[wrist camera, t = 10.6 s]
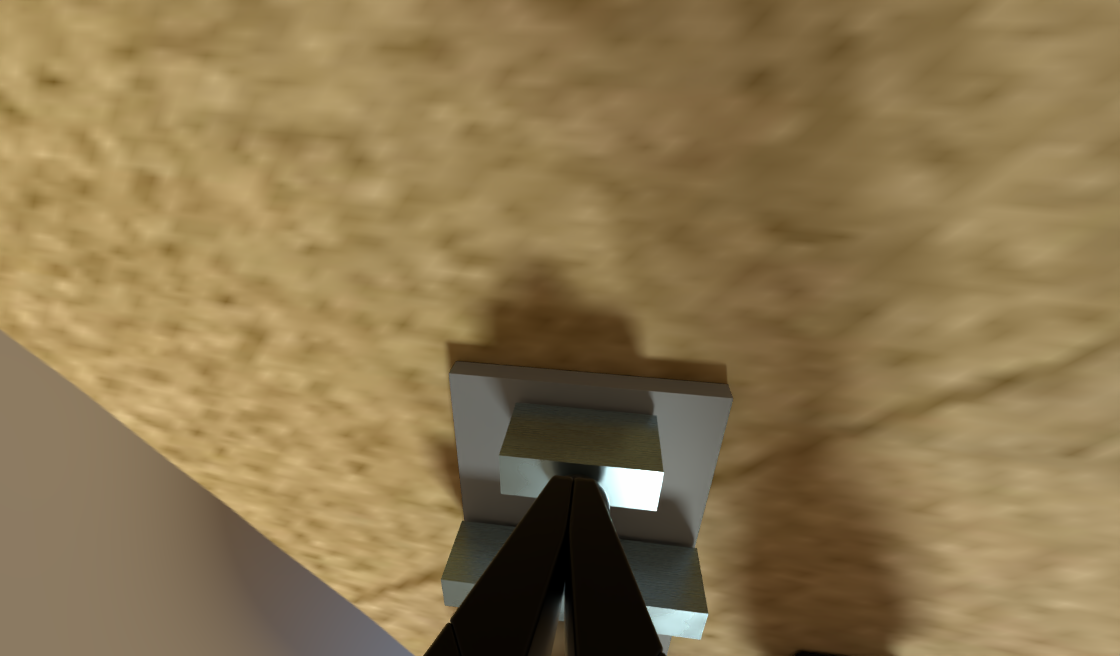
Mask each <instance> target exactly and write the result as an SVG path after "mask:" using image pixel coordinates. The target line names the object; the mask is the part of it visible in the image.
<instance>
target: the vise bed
mask: <svg viewBox="0 0 1120 656" xmlns="http://www.w3.org/2000/svg"><path fill="white" fill-rule="evenodd" d="M449 380H450V390H451V399H452V409H453V418H454V428H455V437H456V447H457V456H458V465H459V475H460V484H461V494H462V503H463V513H464V521H468V522H477V523H485V524H494V525H503V526H511V527H516V526H517V525H518V523H519V522H520V521H521V519H522V518H523V516H524V515H525V514H526V512H527V511H528V509H529V508H530V507H531V505H532V504H533V502H534V501H535V500H536V498H534V497H525V496H516V495H507V494H501V489H500V468H499V453H500V450H501V447H502V444H503V441H504V438H505V435H506V432H507V429H508V426H509V423H510V420H511V417H512V413H513V410H514V407H515V404H516V403H527V404H538V405H549V406H560V407H570V408H581V409H592V410H603V411H613V412H624V413H635V414H646V415H657V422H658V430H659V438H660V446H661V455H662V463H663V471H664V473H663V479H662V484H661V489H660V495H659V500H658V506H657V511H652V510H643V509H634V508H625V507H615V506H610V510H611V514H610V518H611V520H612V523H613V525H614V528H615V530H616V533H617V535H618V538H619V539H622V540H631V541H640V542H648V543H657V544H665V545H674V546H682V547H691V548H695V544H696V540H697V537H698V533H699V529H700V525H701V521H702V517H703V513H704V510H705V506H706V502H707V498H708V494H709V490H710V486H711V483H712V479H713V475H714V471H715V467H716V463H717V459H718V455H719V452H720V448H721V444H722V440H723V436H724V432H725V428H726V425H727V421H728V417H729V413H730V409H731V405H732V401H733V396H732V394H731V391H730V388H729V386H728V384H717V383H706V382H694V381H682V380H671V379H659V378H647V377H636V376H624V375H612V374H600V373H589V372H577V371H565V370H554V369H542V368H530V367H519V366H507V365H495V364H484V363H472V362H460V361H456V362H455V364H454V365H453V367H452V369H451V370H450V372H449ZM658 637H659V639H660V642H661V644H662V647H663V652H662V653H665V654H666V656H667V652H668V649H669V645H670V641H671V637H672V636H670V635H662V634H658Z"/></svg>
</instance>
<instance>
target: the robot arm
mask: <svg viewBox="0 0 1120 656" xmlns="http://www.w3.org/2000/svg"><path fill="white" fill-rule="evenodd" d="M564 586H565V592H564ZM563 594H564V636H565V656H666V654H665V653H662V652H663V647H662V644H661V642H660V639H659V637H658V634H657V632H656V629H655V627H654V624H653V622H652V619H651V617H650V614H649V612H648V610H647V607H646V605H645V602H644V600H643V597H642V595H641V592H640V590H639V587H638V585H637V582H636V580H635V577H634V575H633V572H632V570H631V567H630V565H629V562H628V560H627V557H626V555H625V552H624V550H623V548H622V545H621V543H620V540H619V538H618V535H617V533H616V530H615V528H614V525H613V523H612V520H611V518H610V515H609V513H608V510H607V508H606V505H605V503H604V500H603V498H602V495H601V493H600V490H599V488H598V486H597V483H596V482H595V480H593V479H587V478H575V479H574V480H573V478H572V477H569V476H559V475H554V476H553V477H552V478H551V479H550V480H549V481H548V483H547V484H546V486H545V487H544V488H543V490H542V491H541V493H540V494H539V495H538V497H537V498H536V500H535V501H534V502H533V504H532V505H531V507H530V508H529V509H528V511H527V512H526V514H525V515H524V516H523V518H522V519H521V521H520V522H519V523H518V525H517V526H516V528H515V529H514V530H513V532H512V533H511V535H510V536H509V537H508V539H507V540H506V542H505V543H504V544H503V546H502V547H501V549H500V550H499V551H498V553H497V554H496V556H495V557H494V558H493V560H492V561H491V563H490V564H489V565H488V567H487V568H486V570H485V571H484V572H483V574H482V575H481V577H480V578H479V579H478V581H477V582H476V584H475V585H474V586H473V588H472V589H471V591H470V592H469V593H468V595H467V596H466V598H465V599H464V600H463V602H462V603H461V605H460V606H459V607H458V609H457V610H456V612H455V613H454V614H453V616H452V617H451V619H450V622H451V623H447V624H446V625H445V627H444V628H443V629H442V631H441V632H440V634H439V635H438V636H437V638H436V639H435V641H434V642H433V643H432V645H431V646H430V647H429V649H428V650H427V651H426V653H425V654H424V655H423V656H551V653H552V648H553V644H554V639H555V634H556V630H557V625H558V620H559V615H560V611H561V606H562V600H563ZM795 656H823V655H816V654H808V653H799V654H796V655H795Z"/></svg>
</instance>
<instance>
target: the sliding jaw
mask: <svg viewBox="0 0 1120 656" xmlns="http://www.w3.org/2000/svg"><path fill="white" fill-rule="evenodd" d="M499 468H500V489H501V494H507V495H516V496H525V497H534V498H537V497H538V495H539V494H540V493H541V491H542V490H543V488H544V487H545V486H546V484H547V483H548V481H549V480H550V479H551V478H552V477H553V476H554V475H559V476H569V477H572V478H573V480H574V479H575V478H587V479H593V480H595V482H596V483H597V486H598V488H599V490H600V493H601V495H602V498H603V500H604V503H605V505H606V508H607V510H608V513H609V515H610V514H611V510H610V506H615V507H625V508H634V509H643V510H652V511H657V506H658V500H659V495H660V489H661V484H662V479H663V473H664V471H663V463H662V455H661V446H660V438H659V430H658V422H657V415H646V414H635V413H624V412H613V411H603V410H592V409H581V408H570V407H560V406H549V405H538V404H527V403H516V404H515V407H514V410H513V413H512V417H511V420H510V423H509V426H508V429H507V432H506V435H505V438H504V441H503V444H502V447H501V450H500V453H499ZM515 528H516V527H511V526H503V525H494V524H485V523H477V522H468V521H462V522H461V525H460V528H459V531H458V534H457V536H456V539H455V542H454V545H453V547H452V550H451V553H450V556H449V558H448V561H447V564H446V567H445V570H444V572H443V575H442V578H441V583H442V590H443V596H444V603H445V605H446V606H453V607H459V606H460V605H461V603H462V602H463V600H464V599H465V598H466V596H467V595H468V593H469V592H470V591H471V589H472V588H473V586H474V585H475V584H476V582H477V581H478V579H479V578H480V577H481V575H482V574H483V572H484V571H485V570H486V568H487V567H488V565H489V564H490V563H491V561H492V560H493V558H494V557H495V556H496V554H497V553H498V551H499V550H500V549H501V547H502V546H503V544H504V543H505V542H506V540H507V539H508V537H509V536H510V535H511V533H512V532H513V530H514V529H515ZM619 540H620V543H621V545H622V548H623V550H624V552H625V555H626V557H627V560H628V562H629V565H630V567H631V570H632V572H633V575H634V577H635V580H636V582H637V585H638V587H639V590H640V592H641V595H642V597H643V600H644V602H645V605H646V607H647V610H648V612H649V614H650V617H651V619H652V622H653V624H654V627H655V629H656V632H657V634H662V635H670V636H677V637H685V638H692V639H701V636H702V633H703V630H704V626H705V623H706V620H707V617H708V609H707V603H706V598H705V592H704V586H703V581H702V575H701V569H700V563H699V558H698V552H697V548H691V547H682V546H674V545H665V544H657V543H648V542H640V541H631V540H622V539H619ZM564 592H565V586H564ZM558 621H564V594H563V600H562V606H561V611H560V615H559V620H558Z"/></svg>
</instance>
